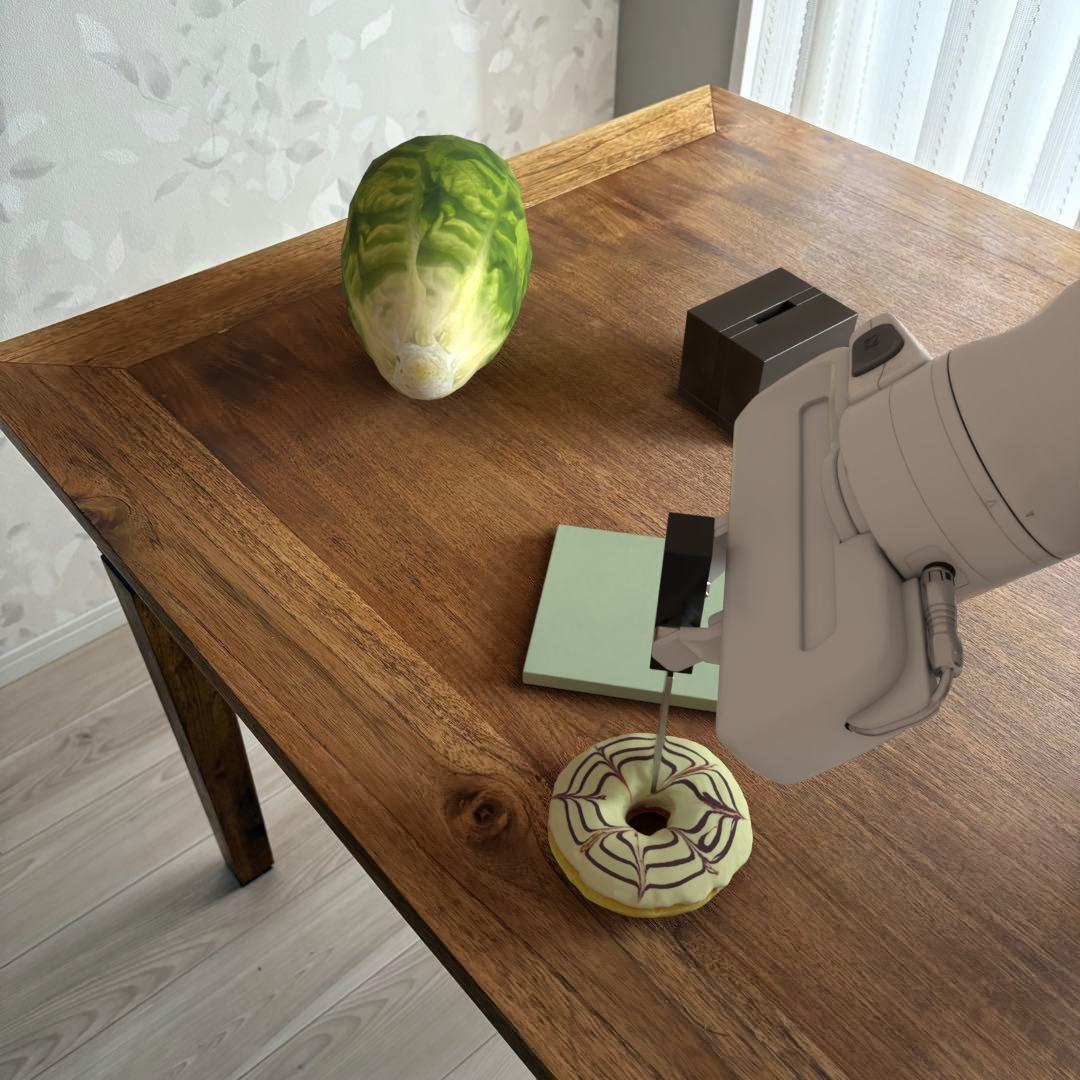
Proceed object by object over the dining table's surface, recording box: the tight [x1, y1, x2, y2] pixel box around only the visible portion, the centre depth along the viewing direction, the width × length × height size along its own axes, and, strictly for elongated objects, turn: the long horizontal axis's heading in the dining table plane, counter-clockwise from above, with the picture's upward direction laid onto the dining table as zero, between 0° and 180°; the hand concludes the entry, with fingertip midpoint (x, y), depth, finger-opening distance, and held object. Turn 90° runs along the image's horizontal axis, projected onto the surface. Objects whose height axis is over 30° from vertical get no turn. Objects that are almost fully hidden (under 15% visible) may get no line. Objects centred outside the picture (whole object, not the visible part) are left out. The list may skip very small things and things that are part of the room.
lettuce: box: [340, 134, 533, 402], centre depth 87 cm, size 15×27×16 cm, turn 0°
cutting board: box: [522, 523, 725, 713], centre depth 71 cm, size 20×13×1 cm, turn 80°
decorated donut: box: [547, 732, 754, 919], centre depth 59 cm, size 10×11×4 cm
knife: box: [649, 511, 716, 793], centre depth 53 cm, size 2×3×18 cm, turn 171°
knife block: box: [676, 266, 859, 437], centre depth 86 cm, size 8×10×8 cm
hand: (664, 618), depth 51 cm, fingers closed on knife, 2 cm apart
